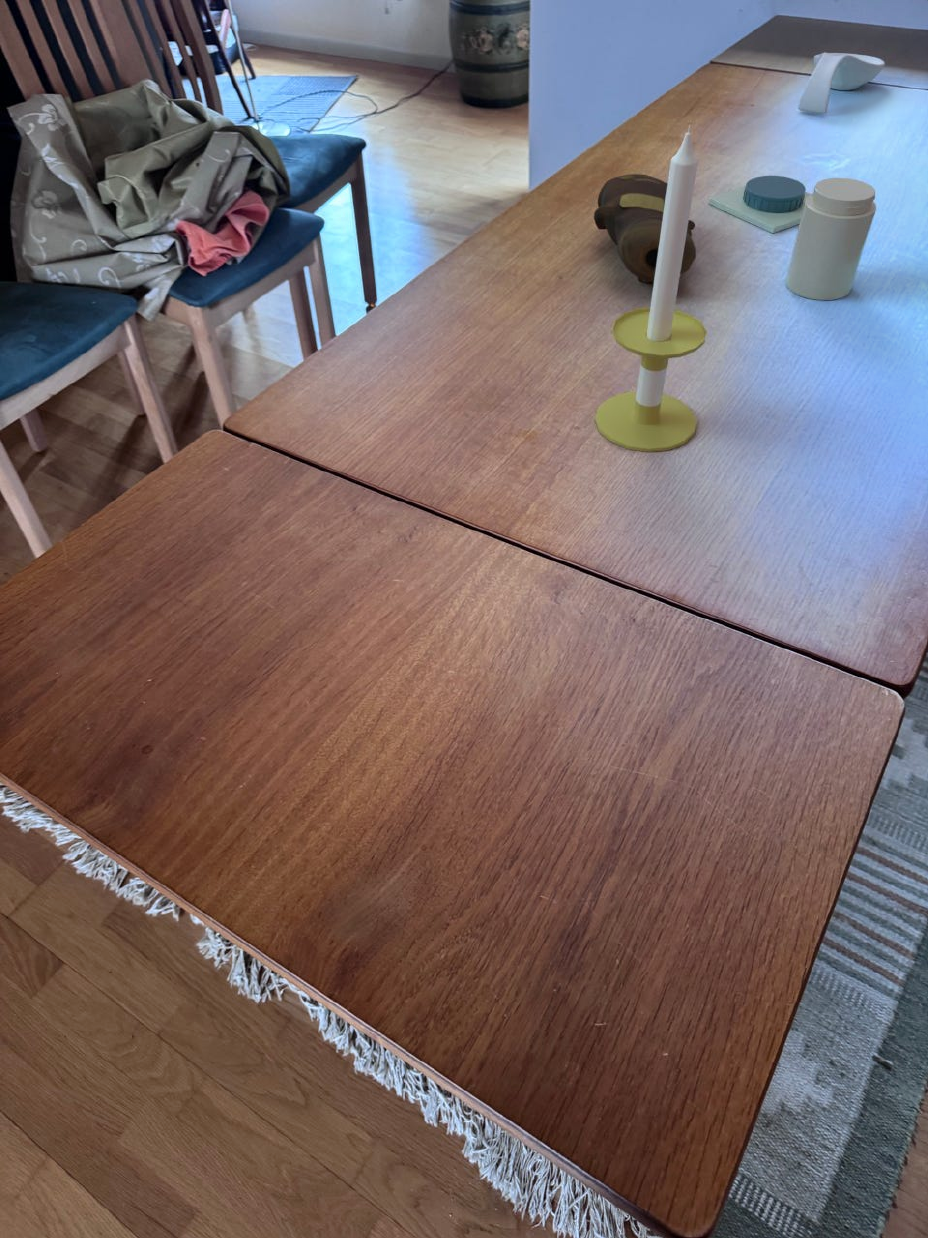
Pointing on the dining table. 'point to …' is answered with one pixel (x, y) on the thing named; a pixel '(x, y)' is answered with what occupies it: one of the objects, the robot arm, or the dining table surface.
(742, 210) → the tile
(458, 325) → the dining table surface
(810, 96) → the spoon rest
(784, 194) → the lid
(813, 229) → the jar
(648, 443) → the candle
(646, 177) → the pottery vessel
